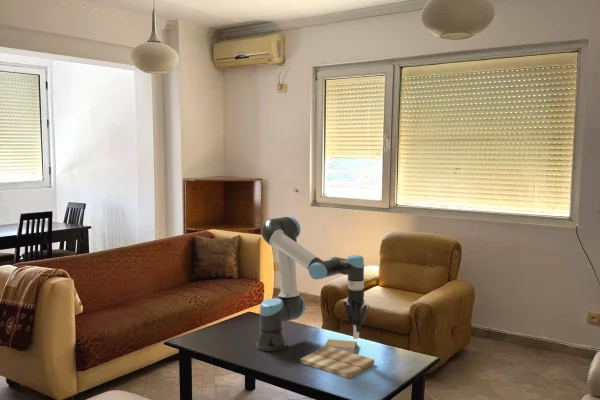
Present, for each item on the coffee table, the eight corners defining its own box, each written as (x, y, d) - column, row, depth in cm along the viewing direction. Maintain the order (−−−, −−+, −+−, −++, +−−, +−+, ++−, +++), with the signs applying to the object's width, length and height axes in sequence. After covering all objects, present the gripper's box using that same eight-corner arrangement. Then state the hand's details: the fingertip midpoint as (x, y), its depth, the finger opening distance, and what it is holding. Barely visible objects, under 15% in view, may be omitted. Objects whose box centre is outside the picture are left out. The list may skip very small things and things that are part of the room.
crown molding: (353, 356, 256) (353, 349, 256) (323, 353, 260) (323, 346, 259) (357, 346, 270) (357, 339, 269) (329, 343, 273) (329, 337, 273)
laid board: (300, 362, 246) (300, 358, 246) (312, 356, 254) (312, 352, 254) (350, 378, 229) (350, 374, 229) (362, 371, 236) (362, 367, 236)
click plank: (313, 356, 254) (313, 352, 254) (325, 349, 262) (325, 345, 261) (362, 371, 236) (362, 367, 236) (374, 363, 244) (374, 359, 244)
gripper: (339, 288, 247) (340, 337, 249) (363, 292, 239) (363, 343, 241) (348, 285, 253) (349, 333, 255) (372, 289, 244) (372, 338, 246)
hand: (356, 338), depth 248 cm, fingers closed
